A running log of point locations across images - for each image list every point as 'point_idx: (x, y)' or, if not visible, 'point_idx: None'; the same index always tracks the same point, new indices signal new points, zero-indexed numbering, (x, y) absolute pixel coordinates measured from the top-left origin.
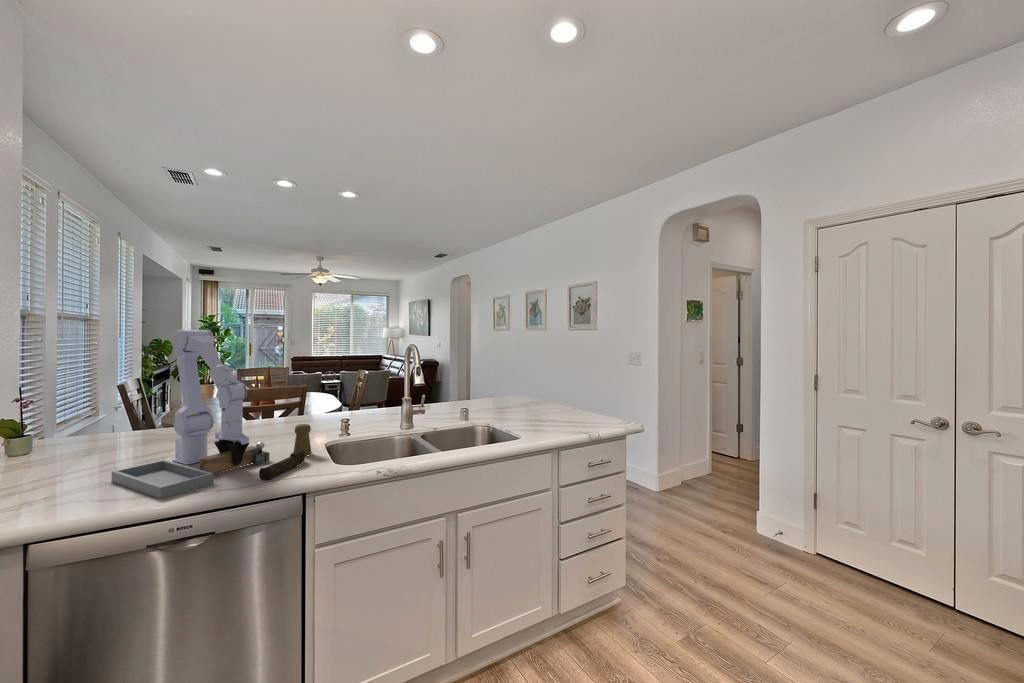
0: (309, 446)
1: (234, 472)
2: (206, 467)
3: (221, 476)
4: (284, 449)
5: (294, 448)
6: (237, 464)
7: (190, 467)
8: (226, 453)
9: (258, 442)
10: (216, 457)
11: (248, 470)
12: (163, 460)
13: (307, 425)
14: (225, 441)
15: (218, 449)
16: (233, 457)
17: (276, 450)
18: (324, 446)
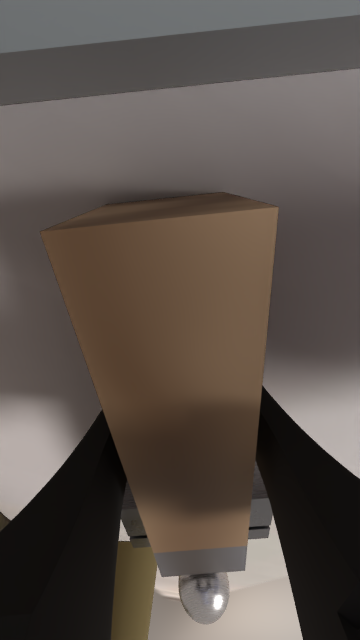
0: None
1: (66, 352)
2: (112, 210)
3: (25, 267)
4: (252, 552)
5: (125, 589)
6: None
7: (211, 7)
8: (194, 457)
9: (210, 616)
10: (101, 355)
11: (51, 405)
12: None
13: None
14: (334, 633)
15: (337, 469)
16: (79, 444)
17: (268, 540)
18: (167, 595)
